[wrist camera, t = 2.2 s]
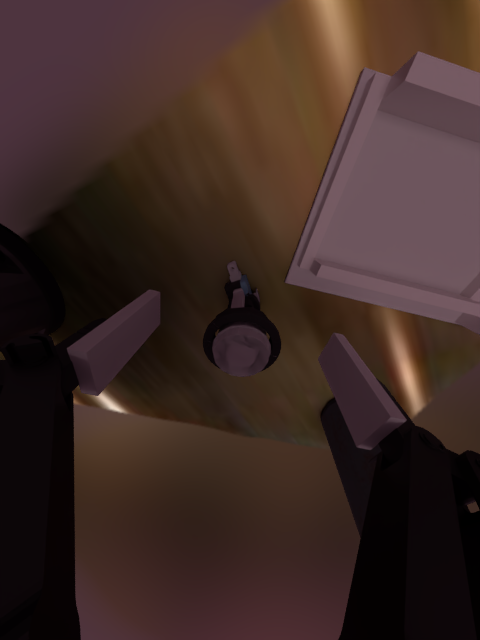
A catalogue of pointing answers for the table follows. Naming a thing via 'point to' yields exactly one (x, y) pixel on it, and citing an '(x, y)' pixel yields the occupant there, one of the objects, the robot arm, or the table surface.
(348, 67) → the table surface
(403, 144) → the tray
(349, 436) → the bottle
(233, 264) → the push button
